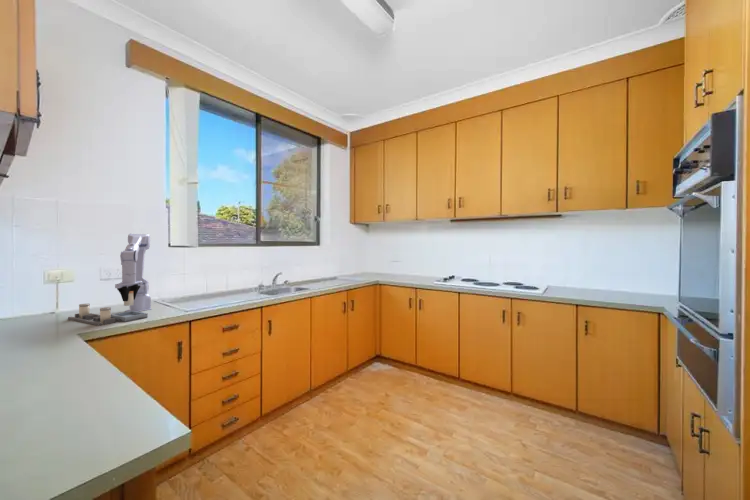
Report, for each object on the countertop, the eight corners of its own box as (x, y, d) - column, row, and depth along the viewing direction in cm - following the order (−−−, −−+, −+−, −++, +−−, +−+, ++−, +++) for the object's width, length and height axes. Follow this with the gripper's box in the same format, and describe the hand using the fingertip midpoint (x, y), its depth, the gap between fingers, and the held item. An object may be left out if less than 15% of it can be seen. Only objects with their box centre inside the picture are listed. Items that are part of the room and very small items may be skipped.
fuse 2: (107, 320, 161) (107, 306, 160) (112, 321, 159) (112, 307, 159) (97, 322, 157) (98, 308, 157) (102, 323, 155) (103, 309, 155)
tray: (132, 314, 174) (132, 310, 174) (147, 317, 169) (147, 313, 169) (109, 318, 164) (109, 314, 164) (125, 321, 159) (125, 317, 159)
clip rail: (91, 315, 171) (91, 311, 171) (121, 321, 161) (121, 317, 161) (68, 319, 162) (68, 315, 162) (98, 325, 152) (98, 321, 152)
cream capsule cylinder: (87, 316, 168) (86, 303, 167) (91, 317, 166) (91, 304, 166) (77, 318, 164) (77, 304, 164) (81, 319, 162) (81, 305, 162)
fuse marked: (128, 304, 169) (128, 290, 168) (135, 304, 168) (135, 290, 168) (121, 305, 165) (121, 291, 164) (129, 305, 164) (129, 292, 164)
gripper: (133, 272, 174) (133, 297, 174) (109, 275, 159) (109, 302, 159) (145, 272, 173) (145, 298, 173) (122, 275, 159) (122, 303, 159)
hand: (129, 300), depth 166 cm, fingers closed on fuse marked, 4 cm apart
